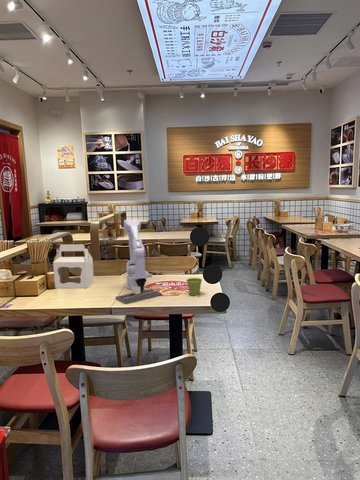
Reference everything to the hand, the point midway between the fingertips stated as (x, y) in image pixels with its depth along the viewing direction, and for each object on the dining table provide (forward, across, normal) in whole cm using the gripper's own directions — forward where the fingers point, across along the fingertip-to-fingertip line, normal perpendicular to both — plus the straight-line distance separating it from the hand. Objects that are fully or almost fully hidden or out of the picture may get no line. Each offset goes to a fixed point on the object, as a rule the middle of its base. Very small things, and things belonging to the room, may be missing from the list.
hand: (141, 291), depth 198 cm
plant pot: (+4, +26, -17) cm, 32 cm away
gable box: (+4, -20, +52) cm, 56 cm away
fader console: (+3, -2, 0) cm, 4 cm away
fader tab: (+2, -3, 0) cm, 4 cm away
